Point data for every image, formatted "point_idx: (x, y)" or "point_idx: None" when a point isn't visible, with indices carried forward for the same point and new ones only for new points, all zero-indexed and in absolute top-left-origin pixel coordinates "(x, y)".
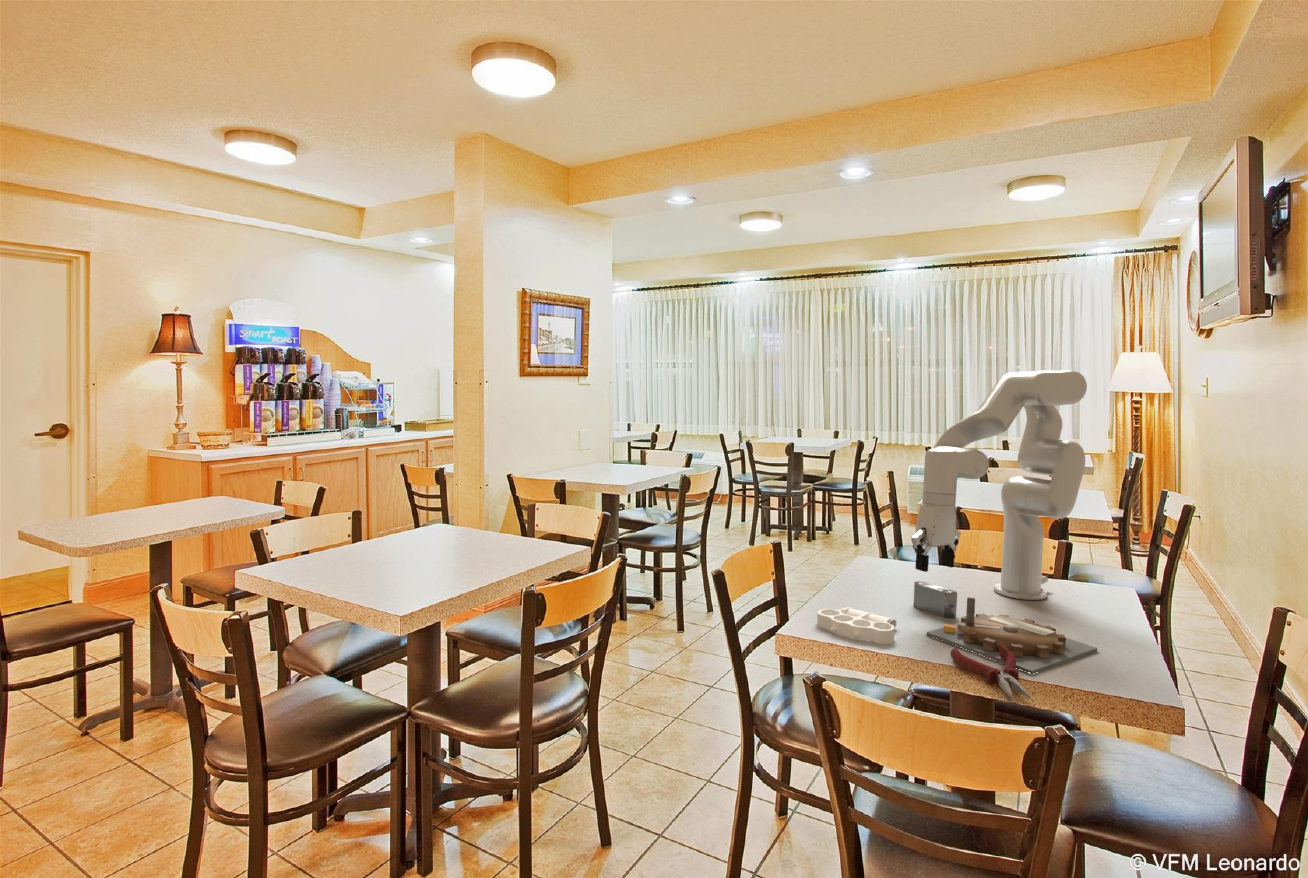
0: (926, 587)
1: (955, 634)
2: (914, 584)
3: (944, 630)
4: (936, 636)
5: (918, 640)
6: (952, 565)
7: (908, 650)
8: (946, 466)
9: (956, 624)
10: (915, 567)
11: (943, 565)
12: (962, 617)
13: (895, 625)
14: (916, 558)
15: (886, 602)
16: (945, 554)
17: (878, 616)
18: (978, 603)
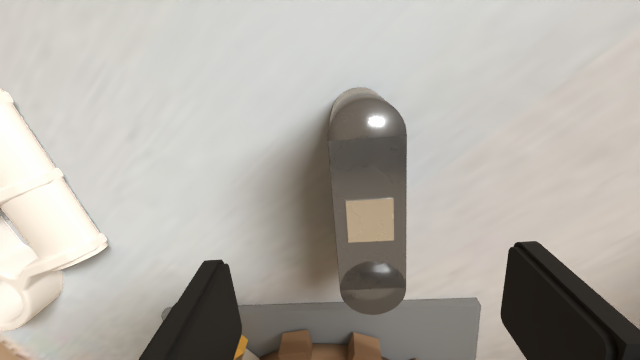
0: (332, 197)
1: None
2: (336, 112)
3: None
4: None
5: (123, 319)
6: (512, 333)
7: (60, 346)
8: None
9: (291, 314)
10: (202, 263)
11: (511, 256)
12: (285, 355)
13: (105, 244)
14: (169, 321)
15: (262, 7)
16: (567, 344)
17: (30, 229)
18: (605, 187)
